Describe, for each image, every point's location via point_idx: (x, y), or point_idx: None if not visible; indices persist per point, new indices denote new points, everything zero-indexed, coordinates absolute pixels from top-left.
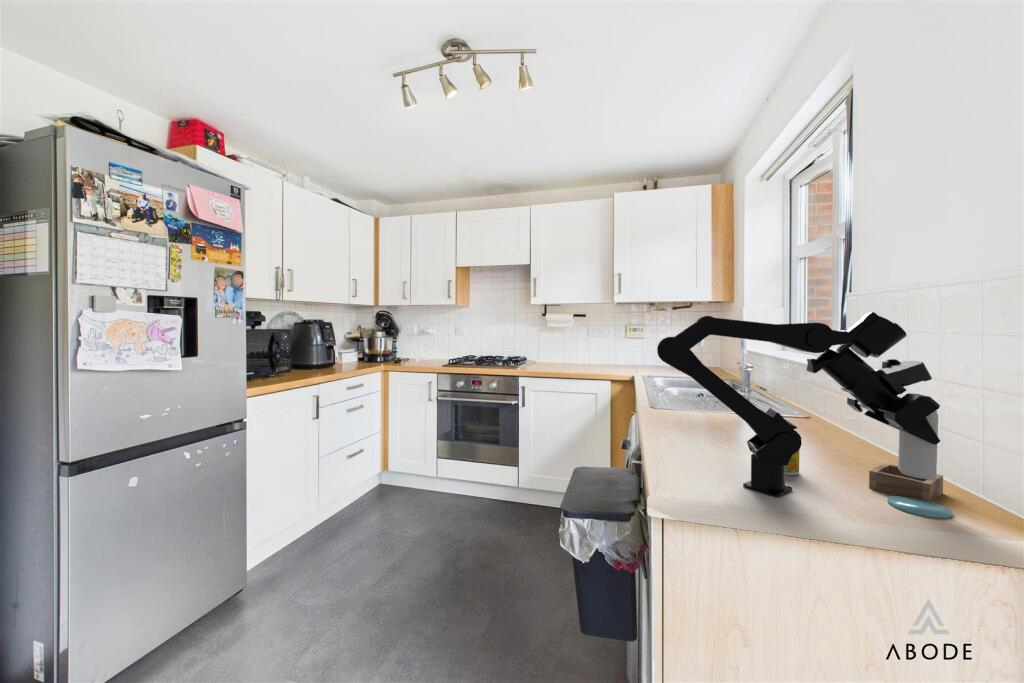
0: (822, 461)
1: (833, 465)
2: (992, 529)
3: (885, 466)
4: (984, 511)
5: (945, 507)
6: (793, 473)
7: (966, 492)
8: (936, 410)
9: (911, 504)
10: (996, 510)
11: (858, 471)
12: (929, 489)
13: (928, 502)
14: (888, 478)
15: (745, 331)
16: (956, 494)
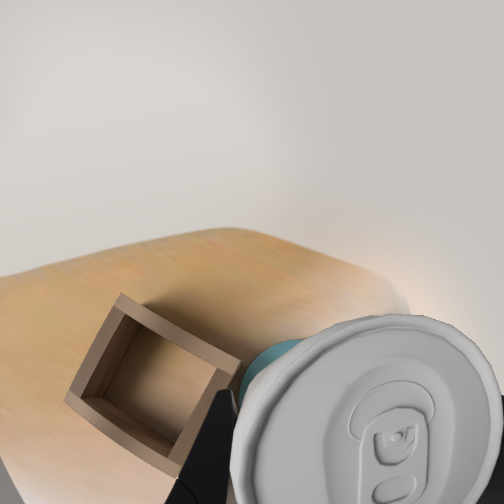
0: (17, 475)
1: (34, 467)
2: (354, 294)
3: (98, 415)
4: (238, 267)
5: (281, 344)
6: None
7: (111, 253)
8: (418, 320)
9: None
10: (217, 243)
11: (50, 431)
12: (240, 362)
13: (260, 370)
14: None
15: None
16: (134, 278)
